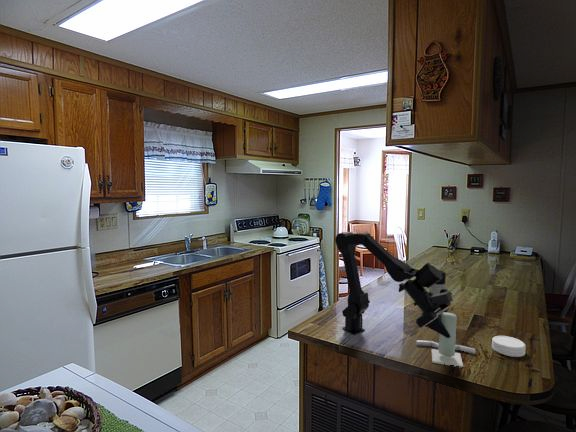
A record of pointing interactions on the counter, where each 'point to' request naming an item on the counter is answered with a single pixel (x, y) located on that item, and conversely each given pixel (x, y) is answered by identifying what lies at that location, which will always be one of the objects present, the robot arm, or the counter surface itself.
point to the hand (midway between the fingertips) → (451, 334)
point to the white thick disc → (508, 346)
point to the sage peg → (450, 324)
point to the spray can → (438, 284)
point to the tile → (446, 359)
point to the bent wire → (436, 345)
